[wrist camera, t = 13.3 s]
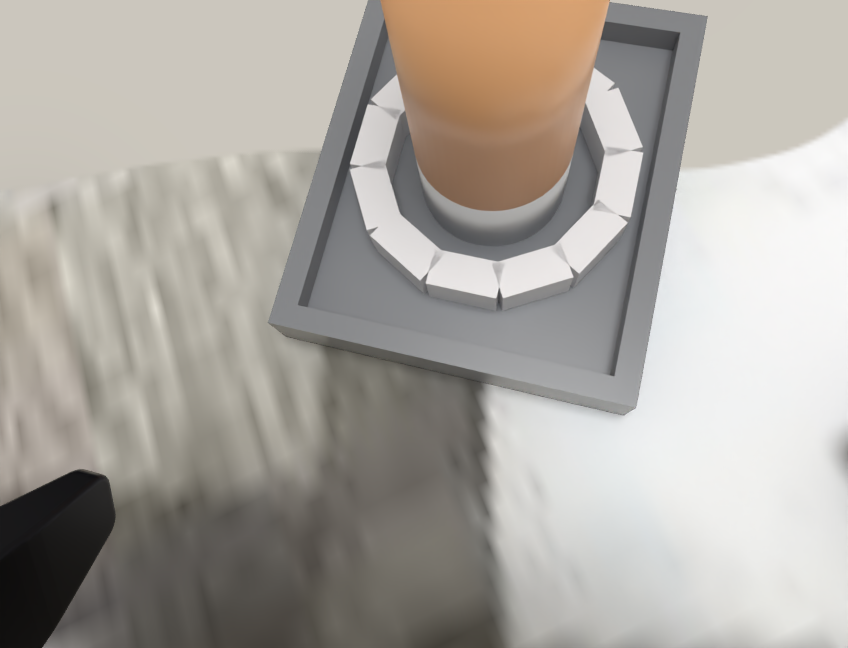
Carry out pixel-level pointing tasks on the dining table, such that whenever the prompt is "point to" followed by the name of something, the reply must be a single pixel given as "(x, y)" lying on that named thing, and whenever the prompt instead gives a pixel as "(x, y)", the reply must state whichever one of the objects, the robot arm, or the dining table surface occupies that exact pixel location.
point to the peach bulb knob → (494, 105)
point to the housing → (510, 264)
